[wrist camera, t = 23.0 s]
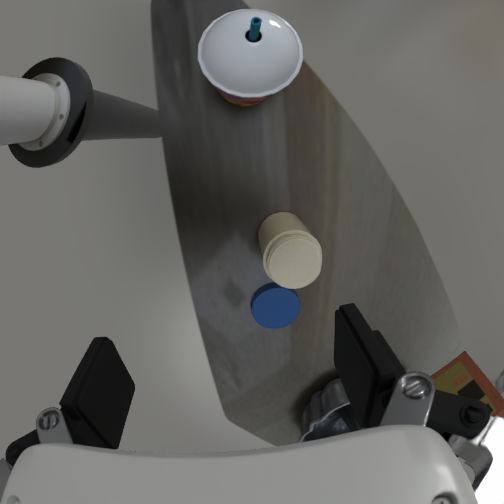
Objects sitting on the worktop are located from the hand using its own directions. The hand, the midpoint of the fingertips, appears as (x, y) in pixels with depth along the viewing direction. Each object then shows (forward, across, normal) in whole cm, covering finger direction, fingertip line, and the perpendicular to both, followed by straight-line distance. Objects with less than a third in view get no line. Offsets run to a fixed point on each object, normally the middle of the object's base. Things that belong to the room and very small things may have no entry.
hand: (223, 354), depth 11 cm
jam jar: (+28, -6, +6) cm, 29 cm away
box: (+28, -43, +48) cm, 70 cm away
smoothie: (+28, -4, -15) cm, 32 cm away
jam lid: (+27, -4, +16) cm, 31 cm away
